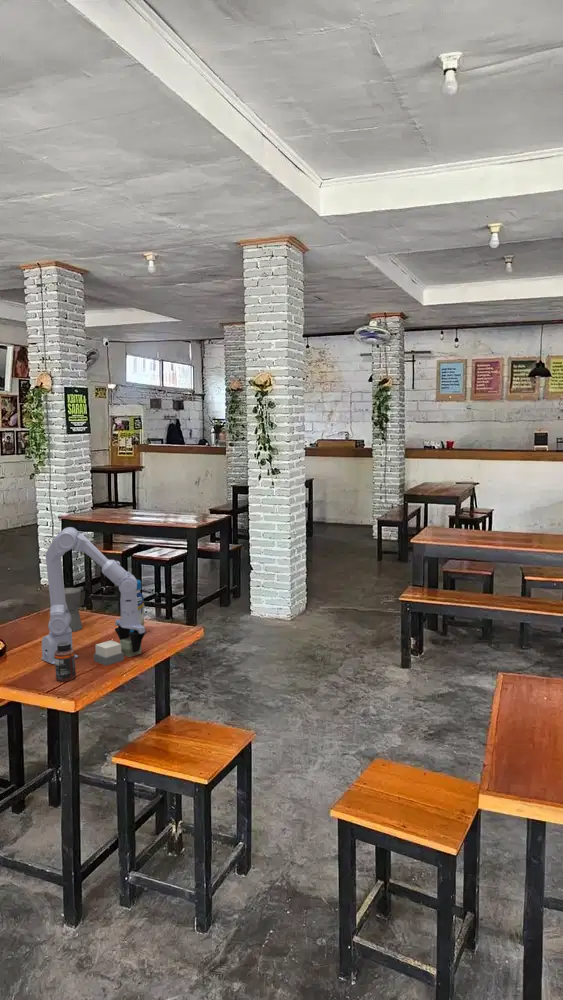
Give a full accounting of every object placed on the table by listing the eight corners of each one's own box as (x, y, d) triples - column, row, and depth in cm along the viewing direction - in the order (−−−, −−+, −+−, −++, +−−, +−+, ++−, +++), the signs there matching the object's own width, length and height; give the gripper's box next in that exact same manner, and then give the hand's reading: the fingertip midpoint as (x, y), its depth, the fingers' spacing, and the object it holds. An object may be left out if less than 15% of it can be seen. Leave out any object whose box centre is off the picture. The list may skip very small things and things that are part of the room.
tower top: (105, 657, 230) (105, 648, 230) (95, 653, 234) (95, 644, 234) (121, 652, 234) (121, 644, 234) (111, 648, 238) (110, 640, 238)
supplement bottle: (73, 673, 223) (71, 639, 221) (77, 679, 217) (76, 644, 216) (54, 677, 220) (52, 642, 218) (57, 683, 215) (56, 647, 213)
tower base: (105, 667, 229) (105, 658, 229) (94, 662, 234) (93, 653, 234) (123, 661, 235) (123, 652, 234) (111, 656, 239) (111, 648, 239)
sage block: (129, 657, 237) (128, 643, 237) (120, 654, 241) (119, 639, 240) (141, 653, 241) (140, 639, 240) (132, 650, 244) (132, 636, 244)
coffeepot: (59, 635, 262) (57, 588, 260) (48, 630, 269) (46, 584, 267) (97, 626, 272) (95, 581, 270) (85, 621, 279) (83, 577, 277)
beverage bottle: (120, 631, 265) (118, 579, 263) (142, 628, 269) (140, 577, 266) (124, 638, 258) (122, 584, 255) (147, 635, 261) (145, 582, 259)
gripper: (151, 612, 237) (153, 651, 239) (126, 604, 247) (128, 642, 249) (134, 616, 232) (135, 656, 234) (109, 608, 242) (111, 647, 243)
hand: (130, 649), depth 241 cm, fingers open, 6 cm apart
